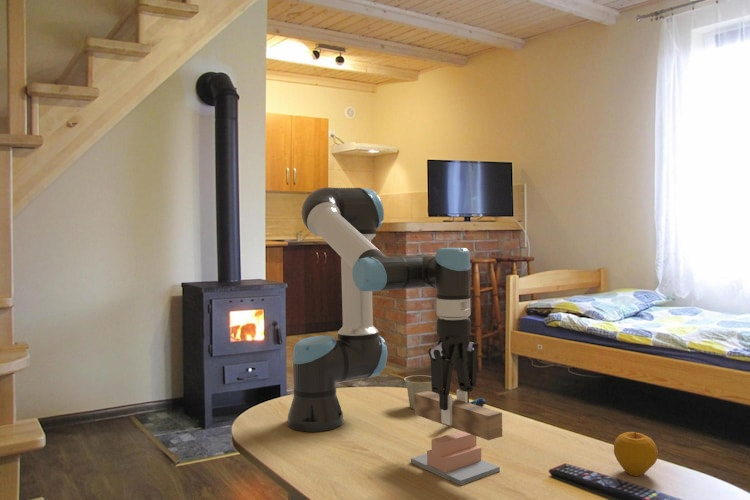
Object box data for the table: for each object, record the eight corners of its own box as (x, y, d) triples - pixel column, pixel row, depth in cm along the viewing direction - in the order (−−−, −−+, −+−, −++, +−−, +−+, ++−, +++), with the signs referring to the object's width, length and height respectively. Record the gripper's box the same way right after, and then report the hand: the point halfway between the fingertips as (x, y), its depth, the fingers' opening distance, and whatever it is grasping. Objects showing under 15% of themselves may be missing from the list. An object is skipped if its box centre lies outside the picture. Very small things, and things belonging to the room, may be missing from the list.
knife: (444, 428, 163) (444, 411, 164) (433, 426, 165) (434, 409, 165) (493, 411, 188) (494, 396, 188) (484, 410, 190) (485, 395, 190)
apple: (667, 478, 133) (668, 437, 133) (632, 484, 131) (632, 441, 130) (638, 463, 142) (638, 424, 142) (604, 468, 139) (604, 428, 139)
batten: (414, 414, 149) (414, 393, 149) (427, 411, 151) (427, 390, 151) (488, 440, 129) (488, 416, 129) (502, 436, 131) (501, 412, 131)
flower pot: (402, 403, 191) (401, 375, 190) (432, 402, 192) (432, 374, 191) (407, 413, 181) (406, 383, 181) (439, 411, 182) (438, 382, 182)
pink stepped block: (410, 462, 144) (410, 432, 143) (448, 450, 151) (448, 421, 151) (460, 485, 131) (460, 452, 131) (499, 471, 138) (499, 439, 138)
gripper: (436, 323, 131) (437, 433, 132) (492, 315, 142) (493, 418, 143) (413, 319, 137) (414, 425, 138) (468, 312, 148) (469, 410, 149)
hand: (454, 421), depth 140 cm, fingers closed on batten, 4 cm apart
